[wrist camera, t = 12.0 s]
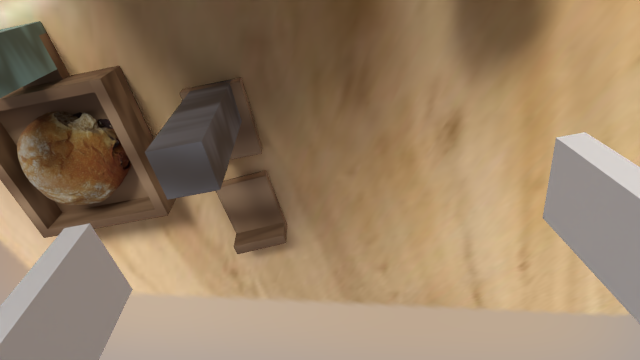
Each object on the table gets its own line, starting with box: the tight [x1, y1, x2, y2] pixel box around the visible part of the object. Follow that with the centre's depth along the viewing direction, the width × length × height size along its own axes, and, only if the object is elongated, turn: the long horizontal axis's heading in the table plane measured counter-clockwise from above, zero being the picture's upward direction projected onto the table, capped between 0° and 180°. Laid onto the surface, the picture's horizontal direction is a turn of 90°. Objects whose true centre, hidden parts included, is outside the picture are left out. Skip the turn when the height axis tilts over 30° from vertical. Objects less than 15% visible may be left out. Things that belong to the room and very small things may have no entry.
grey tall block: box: [145, 78, 262, 200], centre depth 34 cm, size 8×6×14 cm
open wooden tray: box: [0, 21, 176, 238], centre depth 33 cm, size 20×14×14 cm
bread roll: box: [17, 111, 132, 205], centre depth 38 cm, size 10×10×8 cm
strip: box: [216, 171, 287, 254], centre depth 44 cm, size 8×6×4 cm
